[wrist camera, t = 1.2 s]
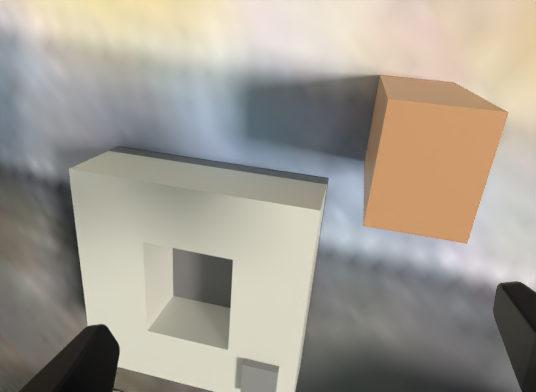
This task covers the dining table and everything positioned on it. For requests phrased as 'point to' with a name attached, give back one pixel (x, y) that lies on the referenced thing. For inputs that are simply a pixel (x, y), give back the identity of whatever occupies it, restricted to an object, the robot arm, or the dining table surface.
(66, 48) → the dining table surface
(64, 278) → the dining table surface
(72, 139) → the dining table surface
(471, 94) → the plug
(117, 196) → the socket plate
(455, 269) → the dining table surface
